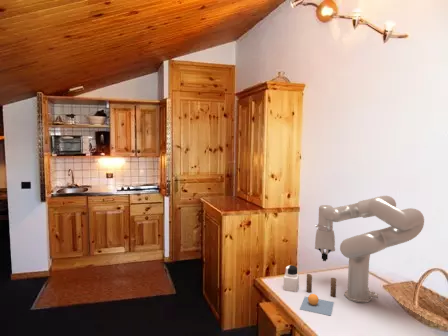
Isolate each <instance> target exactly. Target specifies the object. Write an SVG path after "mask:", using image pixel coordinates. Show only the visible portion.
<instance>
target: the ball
mask: <svg viewBox="0 0 448 336" xmlns="http://www.w3.org/2000/svg"><path fill="white" fill-rule="evenodd" d="M307 297H308V301H309V303H310V304H312V305H316V304H317V303H318V301H319V299H320V298H319V297H318V295H317V294H315V293H311V294H309V295H308V296H307Z"/></svg>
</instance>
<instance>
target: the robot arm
mask: <svg viewBox="0 0 448 336" xmlns="http://www.w3.org/2000/svg"><path fill="white" fill-rule="evenodd" d="M371 217H376V218H377V219H379V220H380V221H382V222H384V223H386V224H388V225H389V226H388V227H385V228H380V229H377V230H370V231H368V232H364V233H362V234H358V235H354V236H352V237H348V238H346V239H343V240H342V241H341V243H340V245H339V250H340V253H341V254H342V256H344V257H345V258H347V259H348V268H347V269H348V270H347V271H348V272H347V289H346V290H345V291H344V295H343V296H344V297H345V298H346V299H348V300H349V301H351V302H356V303H360V304H361V303H362V304H363V303H364V304H365V303H368V302H370V301H372V298H375V299H378V298H379V294H378V293H376V292H375V291H372V290H370V289H369V278H370V277H369V274H370V273H369V272H370V258H371V255H373V254H376V253H378V252H381V251H383V250H385V249H387V248H390V247H395V246H397V245H401V244H403V243H407V242H410V241H411V240H413V239H414V238H416V237H417V236H418V235H420V234H421V232H422V231H423V229H424V226H425V217H424V214H423V213H422V212H421V211H420V210H419V209H416V208H413V207H411V208H405V209H404V208H403V209H400V208H399V207H397V202H396V200H395V199H394V198H393V197H392V196H389V195H380V196H377V197H372V198H368V199H362V200H359V201H358V202H356V203H352V204H347V205H343V206H336V207H333V206H332V205H328V204H321V205H319V206H318V224H315V228H317V229H316V231H315V240H314V241H315V242H314V249H315V250H317V251H319V252H320V253H321V260H322V261H323V262H326V261H327V260H328V257H329V255H328V254H329V253H331V252H332V253H333V252H336V247H335V246H336V240H335V239H336V237H335V230H334V229H333V227H334V225H333V224H334V223H340V222H342V221H347V220H352V219H357V218H363V219H365V218H371Z"/></svg>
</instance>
